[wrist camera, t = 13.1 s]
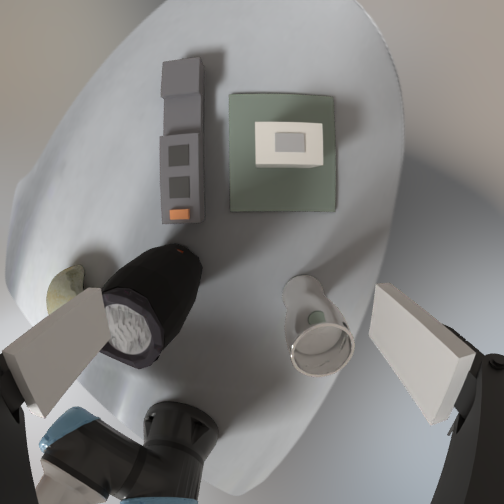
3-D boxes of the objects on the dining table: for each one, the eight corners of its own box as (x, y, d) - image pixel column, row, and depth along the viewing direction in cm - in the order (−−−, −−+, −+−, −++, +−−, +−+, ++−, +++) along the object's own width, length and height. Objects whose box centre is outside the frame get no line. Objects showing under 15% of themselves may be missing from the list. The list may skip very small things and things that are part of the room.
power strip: (205, 219, 38) (199, 223, 34) (170, 220, 38) (160, 224, 34) (204, 66, 33) (198, 55, 29) (170, 70, 33) (161, 60, 29)
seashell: (96, 352, 36) (48, 350, 35) (113, 332, 44) (68, 332, 43) (77, 269, 34) (28, 274, 33) (98, 260, 42) (53, 265, 41)
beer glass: (326, 270, 40) (360, 318, 25) (324, 314, 41) (352, 374, 27) (278, 272, 40) (288, 324, 25) (279, 317, 42) (287, 381, 27)
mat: (333, 211, 38) (335, 211, 37) (230, 211, 38) (230, 211, 37) (332, 98, 34) (333, 96, 33) (229, 95, 34) (228, 94, 33)
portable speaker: (176, 226, 39) (112, 265, 20) (218, 275, 40) (190, 350, 22) (137, 262, 40) (65, 318, 22) (178, 307, 42) (132, 388, 23)
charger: (309, 168, 36) (323, 164, 28) (256, 167, 36) (255, 163, 28) (309, 134, 35) (322, 123, 27) (255, 134, 35) (255, 121, 27)
